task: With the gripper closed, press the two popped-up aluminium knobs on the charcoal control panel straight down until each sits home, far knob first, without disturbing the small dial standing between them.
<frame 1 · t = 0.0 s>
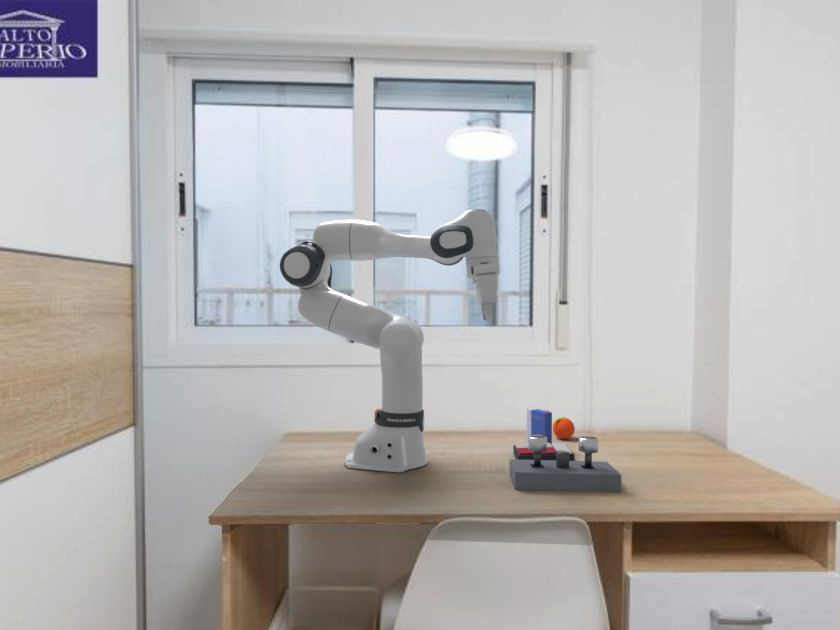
hand: (488, 320, 131), 39 cm above the table, tool pointing down, fingers open, 8 cm apart
clementine: (562, 439, 158), on the table
knob far: (588, 452, 116), point 8 cm above the table, slide at 4.0 cm
dial: (562, 466, 116), point 4 cm above the table, touching panel
panel: (562, 483, 116), on the table
walkman: (538, 449, 146), on the table
knob near: (537, 451, 116), point 8 cm above the table, slide at 4.0 cm
calculator: (542, 462, 135), on the table
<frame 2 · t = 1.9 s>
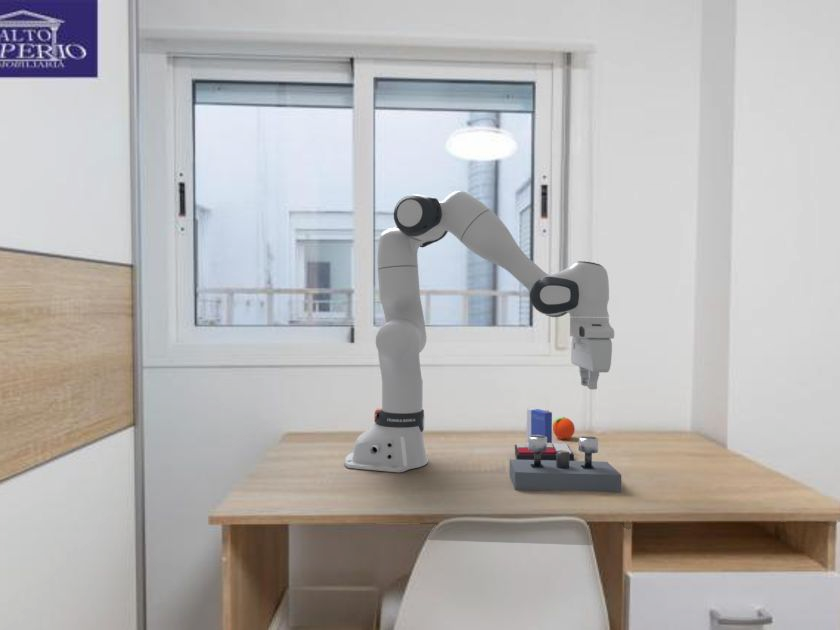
hand: (588, 387, 116), 23 cm above the table, tool pointing down, fingers open, 4 cm apart
nothing on the table moved.
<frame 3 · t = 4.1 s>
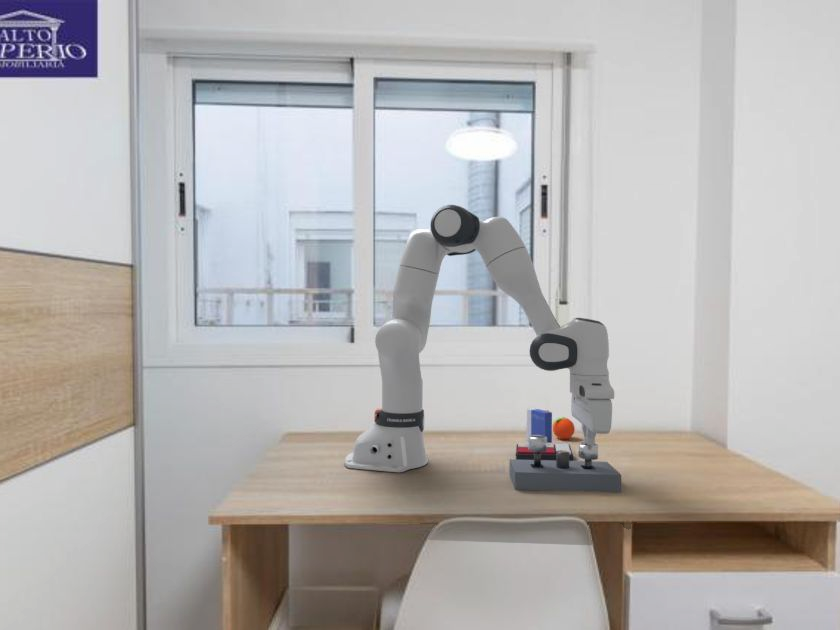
hand: (589, 443, 116), 10 cm above the table, tool pointing down, fingers closed, pressing on knob far
knob far: (588, 458, 116), point 6 cm above the table, slide at 2.4 cm, touching gripper
everything else where it was.
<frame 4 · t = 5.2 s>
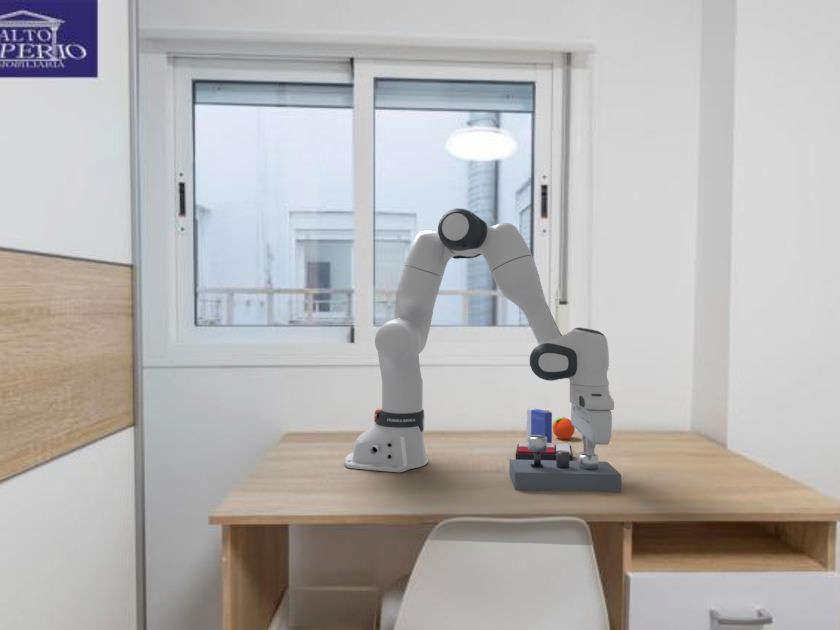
hand: (588, 453, 116), 7 cm above the table, tool pointing down, fingers closed
knob far: (588, 468, 116), point 4 cm above the table, slide at 0.0 cm, touching panel
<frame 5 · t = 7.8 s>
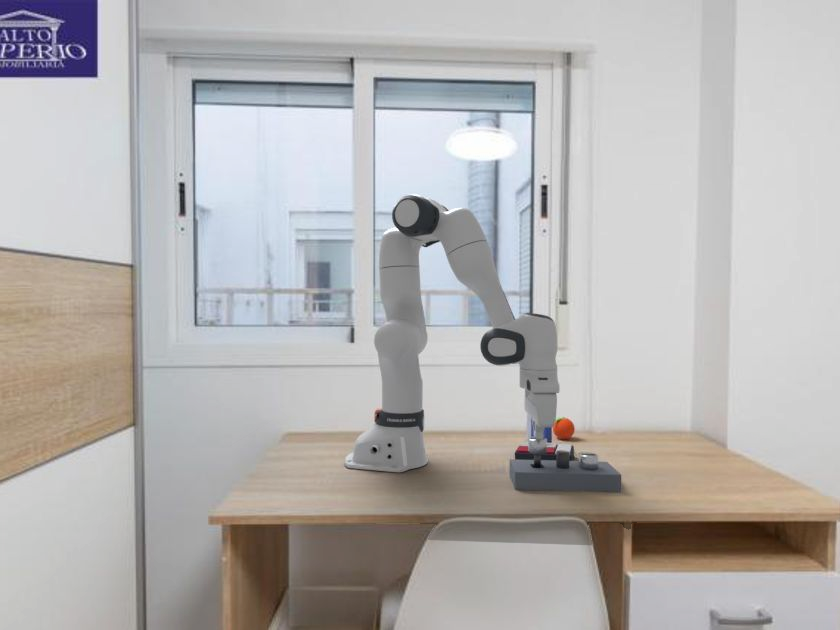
hand: (538, 438, 116), 11 cm above the table, tool pointing down, fingers closed, pressing on knob near
knob near: (537, 452, 116), point 7 cm above the table, slide at 3.6 cm, touching gripper
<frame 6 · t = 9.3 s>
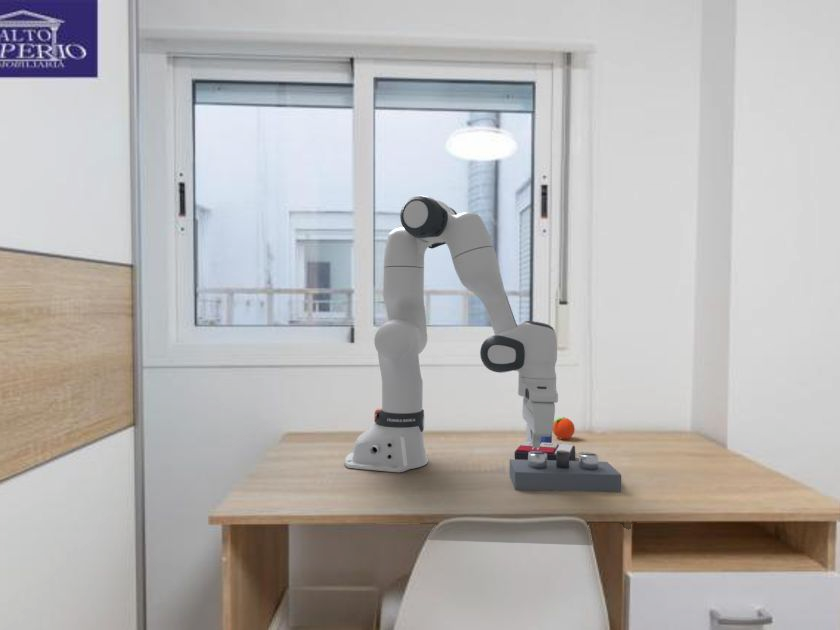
hand: (535, 446, 117), 9 cm above the table, tool pointing down, fingers closed
knob near: (537, 467, 116), point 4 cm above the table, slide at 0.0 cm, touching panel
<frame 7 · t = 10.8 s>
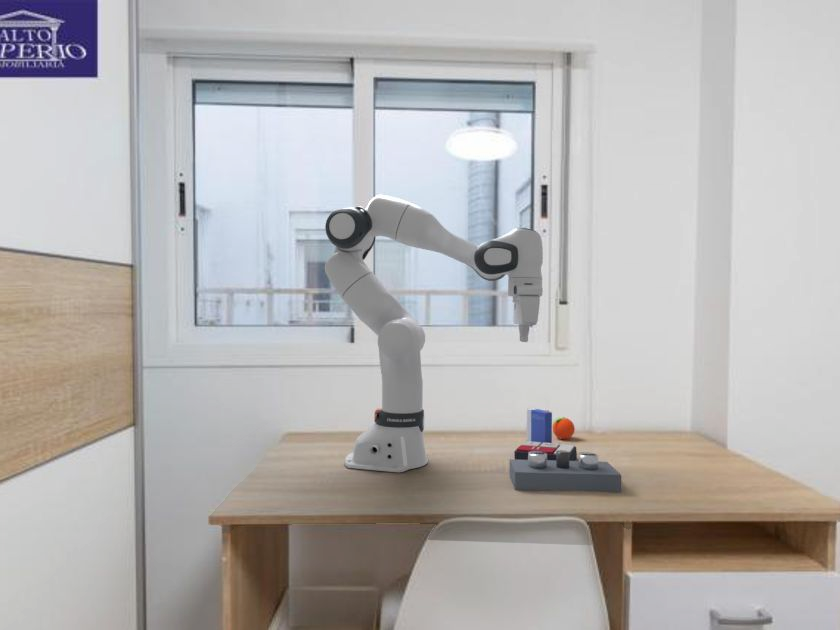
hand: (523, 341, 129), 33 cm above the table, tool pointing down, fingers closed
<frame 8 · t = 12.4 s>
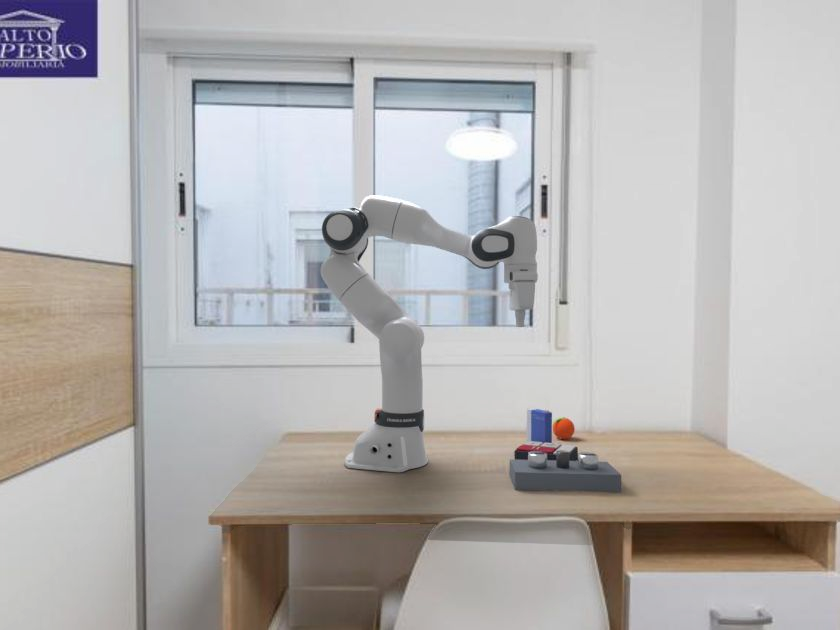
hand: (520, 326, 133), 37 cm above the table, tool pointing down, fingers closed
at the end: knob far slide at 0.0 cm; knob near slide at 0.0 cm; dial moved 0.0 cm from its start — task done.
